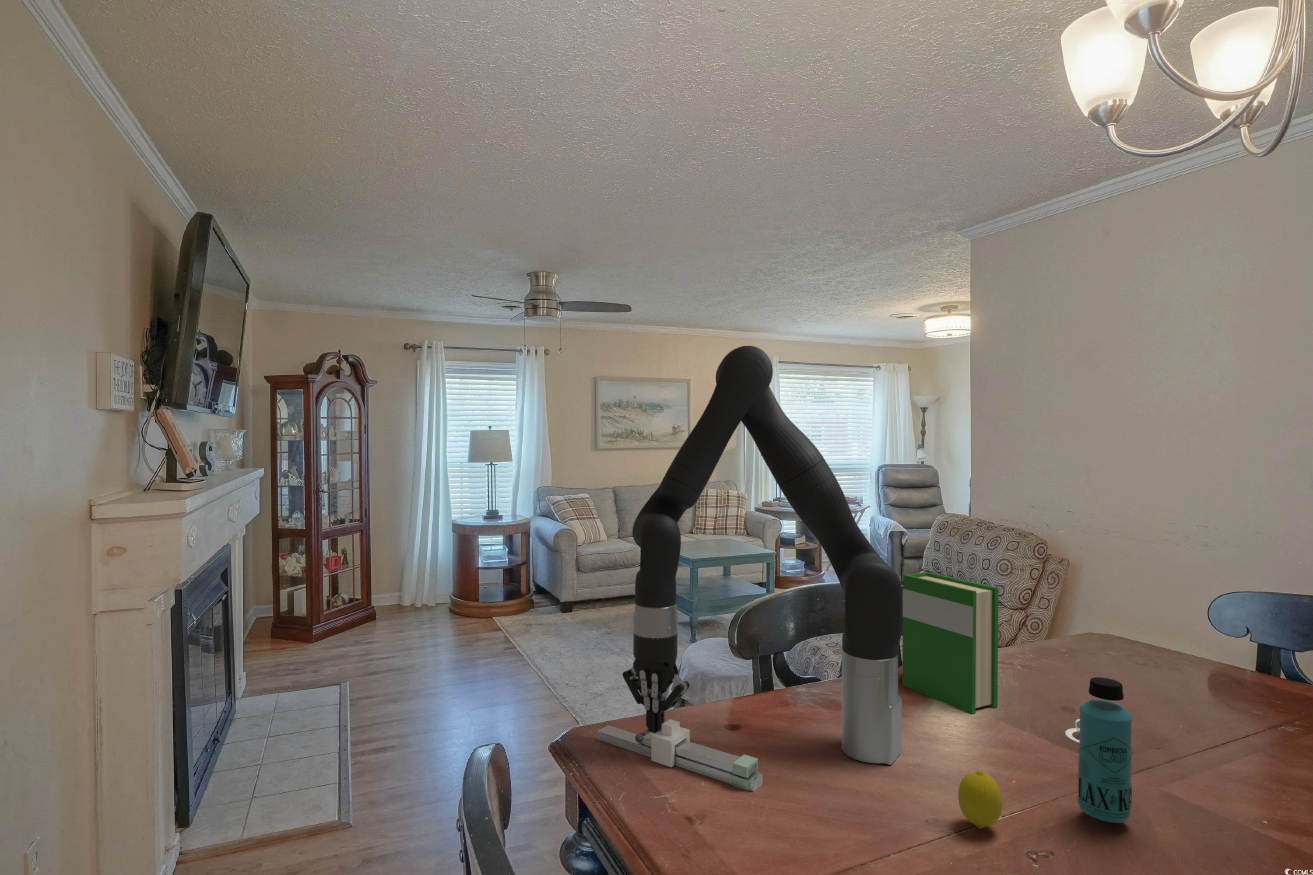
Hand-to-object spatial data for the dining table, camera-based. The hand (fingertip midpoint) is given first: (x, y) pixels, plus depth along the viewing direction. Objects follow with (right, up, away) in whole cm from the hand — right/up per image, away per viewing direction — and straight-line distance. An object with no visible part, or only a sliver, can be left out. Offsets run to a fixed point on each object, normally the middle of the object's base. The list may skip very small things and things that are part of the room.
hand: (655, 731), depth 119 cm
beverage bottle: (+63, -4, -20) cm, 67 cm away
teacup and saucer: (+80, -5, +4) cm, 80 cm away
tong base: (+3, -4, -2) cm, 6 cm away
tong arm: (+7, -2, -5) cm, 9 cm away
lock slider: (+3, -4, -2) cm, 5 cm away
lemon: (+45, -4, -22) cm, 50 cm away
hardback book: (+61, -4, +27) cm, 67 cm away
